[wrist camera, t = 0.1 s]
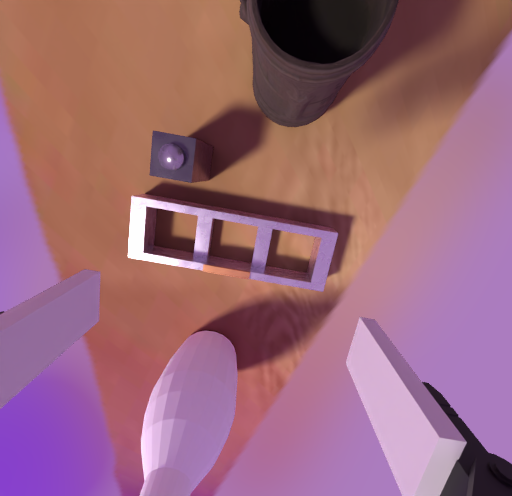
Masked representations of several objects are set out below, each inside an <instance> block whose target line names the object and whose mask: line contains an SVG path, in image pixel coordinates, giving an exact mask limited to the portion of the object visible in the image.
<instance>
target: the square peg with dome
mask: <svg viewBox="0 0 512 496" xmlns="http://www.w3.org/2000/svg"><path fill="white" fill-rule="evenodd" d="M212 155H213V147H212V146H210V145H208V144H206V143H204V142H202V141H200V140H198V139H196V138H191V137H185V136H180V135H174V134H169V133H164V132H158V131H153V136H152V150H151V164H150V175H151V176H157V177H162V178H168V179H173V180H179V181H184V182H190V183H193V182H201V181H208V180H209V178H210V171H211V163H212Z"/></svg>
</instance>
